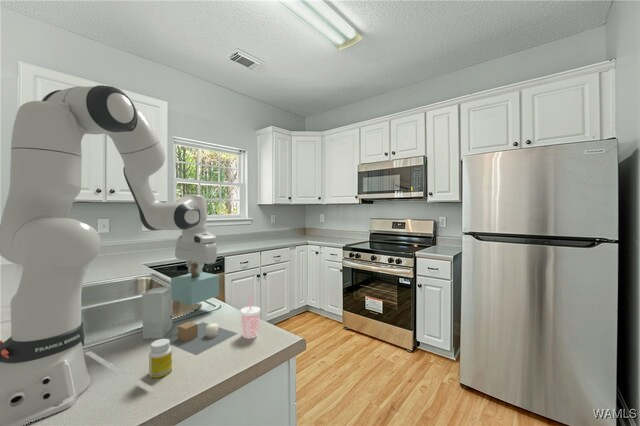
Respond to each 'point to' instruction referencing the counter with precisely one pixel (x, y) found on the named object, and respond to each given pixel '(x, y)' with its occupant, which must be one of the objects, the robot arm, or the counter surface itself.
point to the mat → (199, 336)
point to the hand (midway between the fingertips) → (195, 272)
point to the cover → (194, 286)
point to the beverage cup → (250, 321)
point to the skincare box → (157, 312)
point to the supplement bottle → (160, 359)
